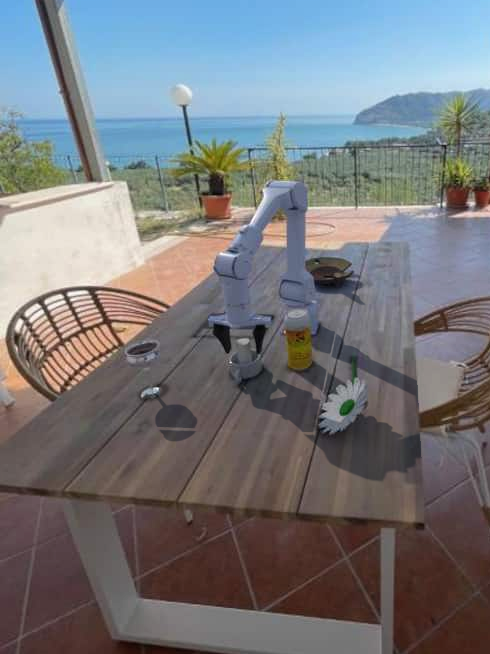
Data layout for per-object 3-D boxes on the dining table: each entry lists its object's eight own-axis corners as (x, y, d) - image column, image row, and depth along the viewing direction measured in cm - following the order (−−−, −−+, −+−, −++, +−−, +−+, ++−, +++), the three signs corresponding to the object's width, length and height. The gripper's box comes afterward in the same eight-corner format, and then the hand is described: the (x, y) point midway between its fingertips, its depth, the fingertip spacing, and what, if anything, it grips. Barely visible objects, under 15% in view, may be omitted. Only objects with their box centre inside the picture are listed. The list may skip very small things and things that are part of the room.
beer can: (292, 375, 95) (288, 320, 90) (285, 362, 100) (280, 310, 95) (315, 368, 98) (312, 315, 93) (307, 356, 103) (304, 305, 98)
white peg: (254, 365, 98) (251, 338, 95) (250, 373, 95) (247, 345, 92) (242, 365, 98) (238, 338, 96) (237, 373, 95) (233, 345, 93)
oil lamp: (352, 267, 167) (352, 250, 164) (356, 295, 139) (356, 275, 136) (300, 268, 166) (298, 251, 163) (293, 297, 138) (292, 277, 135)
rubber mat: (273, 315, 125) (273, 314, 125) (261, 338, 112) (260, 336, 112) (212, 314, 126) (212, 313, 126) (193, 336, 113) (193, 335, 113)
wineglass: (147, 406, 85) (135, 359, 81) (130, 395, 89) (118, 350, 84) (175, 389, 91) (165, 344, 86) (158, 379, 94) (148, 336, 90)
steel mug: (237, 362, 101) (235, 348, 99) (265, 362, 100) (263, 348, 99) (222, 387, 91) (219, 372, 89) (253, 388, 91) (251, 373, 89)
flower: (367, 336, 101) (366, 402, 72) (378, 352, 102) (381, 424, 73) (325, 361, 103) (307, 435, 74) (337, 376, 104) (324, 456, 75)
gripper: (199, 308, 87) (208, 360, 92) (263, 309, 86) (268, 361, 91) (212, 295, 93) (219, 344, 98) (271, 296, 93) (276, 345, 97)
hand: (244, 351), depth 95 cm, fingers open, 7 cm apart
